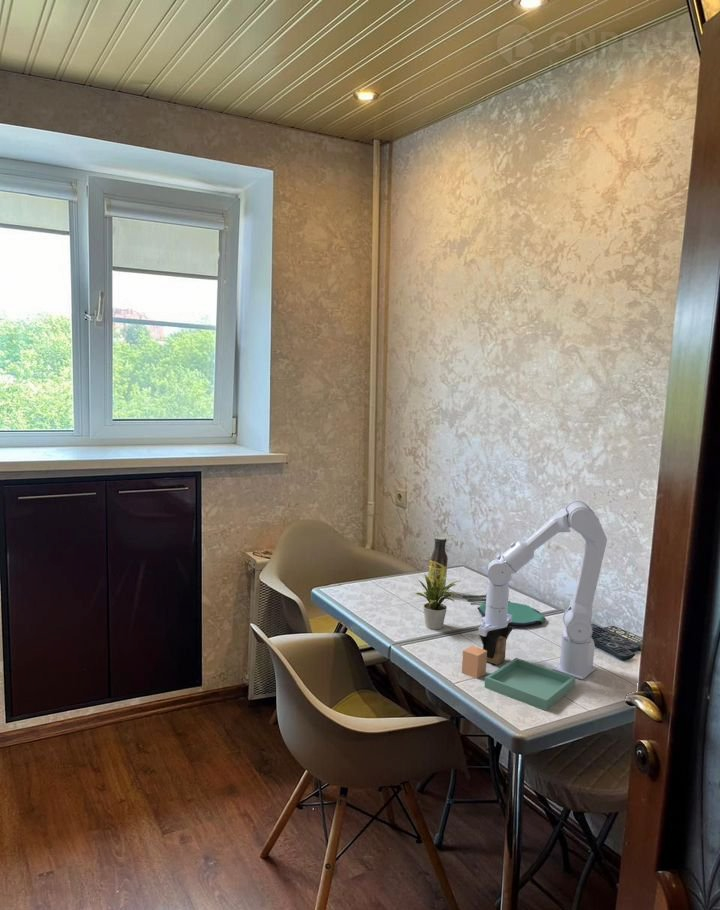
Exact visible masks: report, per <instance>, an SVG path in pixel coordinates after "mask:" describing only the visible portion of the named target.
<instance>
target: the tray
mask: <svg viewBox="0 0 720 910" xmlns="http://www.w3.org/2000/svg"><path fill="white" fill-rule="evenodd" d="M575 684H576V677H573V676H570V675H567V674H564V673H561V672H558V671H555V670H553V669H551V668H548V667H545V666H541V665H539V664H536V663H533V662H531V661H528V660H525V659H521V658H518V657H515V658H514V659H512V660H510V661H509V662H507V663H505V664H504V665H502V666H501V667H499V668H498V669H496V670H494V671H493V672H491V673H490V674H488V675H487V676H485V677H484V688H485V689H488V690H490V691H493V692H496V693H499V694H501V695H503V696H507V697H509V698H511V699H514V700H517V701H519V702H522V703H524V704H527V705H530V706H533V707H535V708H538V709H540V710H543V711H548V710H549V709H550V708H551V707H552V706H554V705H555V704H556V703H557V702H559V701H560V700H562V699H563V697H565V696H566V695H568V693H569V692H571V691H572V690H573V689H575V686H576V685H575Z"/></svg>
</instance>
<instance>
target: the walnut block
mask: <svg viewBox="0 0 720 910" xmlns="http://www.w3.org/2000/svg"><path fill="white" fill-rule="evenodd" d="M506 648H507V640H506V638H505V637H501V636H500V637H499V639H498V641H497V644H496V648H495V654H494V657H493V658H492V659H491V658H488V657H487V660H486V662H488V663H491V664H493V665H497V666H498V665H499V664H500V663H501V662H504V661H506V650H507V649H506ZM482 649H483V650H484V647H483V646H482Z"/></svg>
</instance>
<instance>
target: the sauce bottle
mask: <svg viewBox="0 0 720 910" xmlns="http://www.w3.org/2000/svg"><path fill="white" fill-rule="evenodd" d="M446 544H447V537H445V536H439V535H438V536H435V537H434V547H433V551H432V553H431V556H430V559H429V561H428V562H429V563H428V574H427V575H428V576H427V577H428V578H429V580H430V581H432V582H433V583H434V578H433V574H434V576H435V579H436V583H437V586H438V583H439V581H440V580H441V578H442V576H443V574H444V577H445V576H447V575H448V573H447V572H448V560H449V559H448V555H447V553H446ZM446 581H447V578H446V579H445V583H444V585H443V587H442V588H444V587H446V586H447V585H446V583H447V582H446ZM432 582H431V585H432V587H433V584H432ZM443 590H444V589H443ZM443 590H442V591H443ZM442 591H441V592H442ZM441 592H440V593H441ZM444 592H445V591H444Z"/></svg>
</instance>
